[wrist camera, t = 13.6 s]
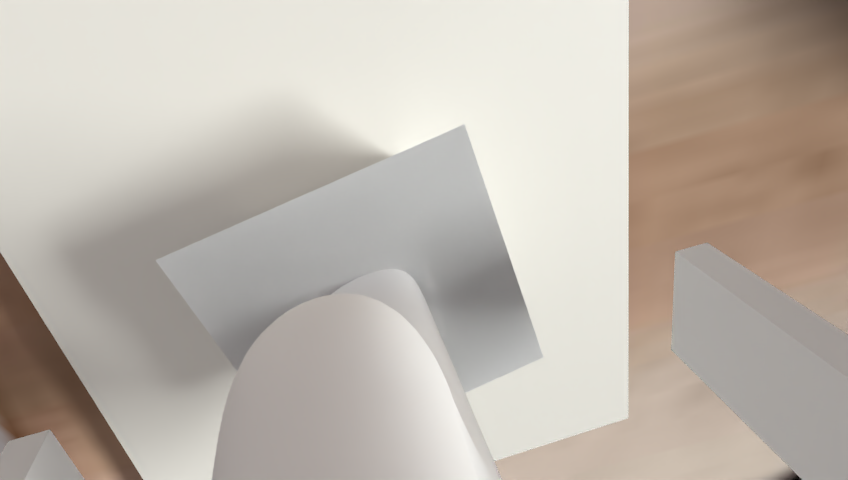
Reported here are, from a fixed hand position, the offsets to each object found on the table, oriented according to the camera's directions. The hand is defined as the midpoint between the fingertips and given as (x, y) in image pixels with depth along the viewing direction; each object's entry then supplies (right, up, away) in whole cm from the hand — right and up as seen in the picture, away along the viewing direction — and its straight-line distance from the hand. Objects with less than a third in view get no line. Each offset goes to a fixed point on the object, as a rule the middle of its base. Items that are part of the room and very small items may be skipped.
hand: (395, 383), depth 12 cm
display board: (-2, +3, +6) cm, 8 cm away
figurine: (-1, +3, +5) cm, 6 cm away
